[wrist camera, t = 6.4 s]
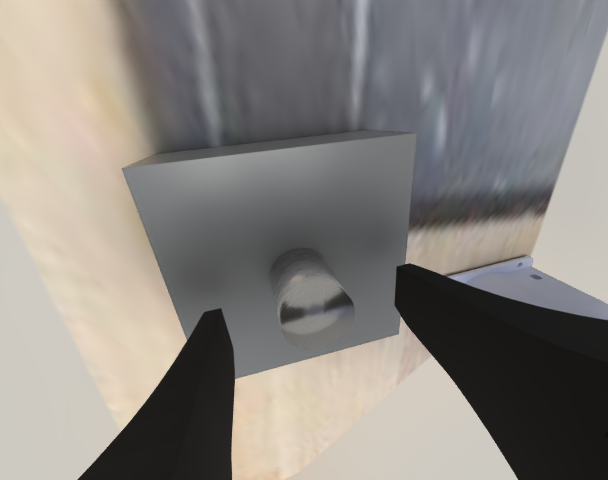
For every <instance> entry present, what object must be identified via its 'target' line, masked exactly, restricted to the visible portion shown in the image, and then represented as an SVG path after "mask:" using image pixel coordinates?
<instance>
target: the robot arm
mask: <svg viewBox="0 0 608 480" xmlns="http://www.w3.org/2000/svg"><path fill="white" fill-rule="evenodd" d="M532 263H533V258H532V257H529V256H525V257H521V258H517V259H513V260H509V261H506V262H502V263H498V264H494V265H490V266H486V267H482V268H478V269H474V270H470V271H466V272H463V273H459V274H455V275H451V276H447V277H446V276H443V275H441V274H438V273H436V272H433V271H430V270H428V269H425V268H422V267H419V266H416V265H413V264H410V263H409V264H405V265H401V266H397V267H396V285H395V303H394V305H395V307H396V309H397V310H398V312H399V314H400V315H401V317H402V318H403V320H404V321H405V323H406V324H407V326H408V327H409V328H410V329H411V331H412V332H413V333H414V334H415V335H416V337H417V338H418V339H419V340H420V341H421V343H422V344H423V345H424V346H425V347H426V349H427V350H428V351H429V352H430V353H431V354H432V356H433V357H434V358H435V359H436V360H437V361H438V363H439V364H440V365H441V366H442V367H443V368H444V370H445V371H446V372H447V373H448V375H449V376H450V377H451V378H452V380H453V381H454V382H455V384H456V385H457V386H458V388H459V389H460V391H461V392H462V394H463V395H464V396H465V398H466V399H467V401H468V402H469V403H470V405H471V406H472V408H473V409H474V411H475V412H476V414H477V415H478V417H479V418H480V420H481V421H482V423H483V424H484V426H485V427H486V429H487V430H488V432H489V433H490V435H491V436H492V438H493V440H494V441H495V443H496V444H497V446H498V448H499V449H500V451H501V452H502V454H503V455H504V457H505V459H506V460H507V462H508V464H509V465H510V467H511V468H512V470H513V472H514V473H515V475H516V477H517V478H518V480H608V304H606V303H604V302H603V301H601V300H599V299H596V298H594V297H592V296H590V295H588V294H586V293H584V292H582V291H580V290H578V289H576V288H573V287H572V286H570V285H568V284H566V283H564V282H561V281H559V280H557V279H555V278H553V277H551V276H549V275H547V274H545V273H543V272H541V271H539V270H537V269H535V268H533V267H531V266H532ZM234 386H235V364H234V349H233V345H232V342H231V338H230V335H229V332H228V329H227V325H226V322H225V319H224V316H223V312H222V309H221V308H219V309H215V310H210V311H206V312H204V313H203V314H202V316H201V318H200V319H199V321H198V323H197V325H196V327H195V328H194V330H193V332H192V333H191V335H190V337H189V339H188V340H187V342H186V344H185V345H184V347H183V348H182V350H181V352H180V353H179V355H178V356H177V358H176V360H175V361H174V363H173V364H172V366H171V367H170V369H169V370H168V371H167V373H166V374H165V376H164V377H163V379H162V380H161V382H160V383H159V384H158V386H157V387H156V389H155V390H154V391H153V393H152V394H151V395H150V397H149V398H148V399H147V401H146V402H145V403H144V405H143V406H142V407H141V408H140V410H139V411H138V412H137V413H136V415H135V416H134V417H133V418H132V420H131V421H130V422H129V423H128V424H127V426H126V427H125V428H124V429H123V430H122V431H121V433H120V434H119V435H118V436H117V437H116V438H115V439H114V440H113V441H112V443H111V444H110V445H109V446H108V447H107V448H106V449H105V451H104V452H103V453H102V454H101V455H100V456H99V457H98V458H97V460H96V461H95V462H94V463H93V464H92V465H91V466H90V467H89V468H88V469H87V470H86V471H85V472H84V473H83V474H82V476H80V478H79V479H78V480H232V462H231V446H232V424H233V405H234Z"/></svg>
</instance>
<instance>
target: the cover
mask: <svg viewBox="0 0 608 480" xmlns="http://www.w3.org/2000/svg"><path fill="white" fill-rule="evenodd" d="M416 138H417V133H411V132H395V131H378V130H362V131H353V132H344V133H336V134H327V135H318V136H309V137H300V138H292V139H283V140H274V141H265V142H256V143H248V144H239V145H230V146H221V147H212V148H204V149H195V150H186V151H177V152H168V153H160V154H155V155H152V156H150V157H148V158H145V159H143V160H140V161H138V162H136V163H133V164H131V165H129V166H126V167H124V168H122V171H123V173H124V176H125V178H126V181H127V184H128V186H129V189H130V192H131V194H132V197H133V200H134V202H135V205H136V207H137V210H138V213H139V215H140V218H141V221H142V223H143V226H144V228H145V231H146V234H147V236H148V239H149V242H150V244H151V247H152V249H153V252H154V255H155V257H156V260H157V263H158V265H159V268H160V271H161V273H162V276H163V278H164V281H165V284H166V286H167V289H168V292H169V294H170V297H171V299H172V302H173V305H174V307H175V310H176V313H177V315H178V318H179V320H180V323H181V326H182V328H183V331H184V334H185V336H186V339H187V340H188V339H189V337H190V335H191V333H192V332H193V330H194V328H195V327H196V325H197V323H198V321H199V319H200V318H201V316H202V314H203V313H204V312H206V311H210V310H215V309H219V308H221V309H222V312H223V316H224V319H225V322H226V325H227V329H228V332H229V335H230V338H231V342H232V345H233V349H234V364H235V379H237V378H240V377H244V376H248V375H251V374H255V373H259V372H262V371H266V370H269V369H273V368H277V367H280V366H284V365H288V364H291V363H295V362H299V361H302V360H306V359H310V358H313V357H317V356H320V355H324V354H328V353H331V352H335V351H339V350H342V349H346V348H350V347H353V346H357V345H361V344H364V343H368V342H371V341H375V340H379V339H382V338H386V337H390V336H393V335H397V334H399V326H400V314H399V312H398V310H397V309H396V307H395V305H394V303H395V285H396V267H397V266H401V265H405V260H406V248H407V237H408V226H409V215H410V204H411V193H412V182H413V171H414V160H415V149H416Z"/></svg>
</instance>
